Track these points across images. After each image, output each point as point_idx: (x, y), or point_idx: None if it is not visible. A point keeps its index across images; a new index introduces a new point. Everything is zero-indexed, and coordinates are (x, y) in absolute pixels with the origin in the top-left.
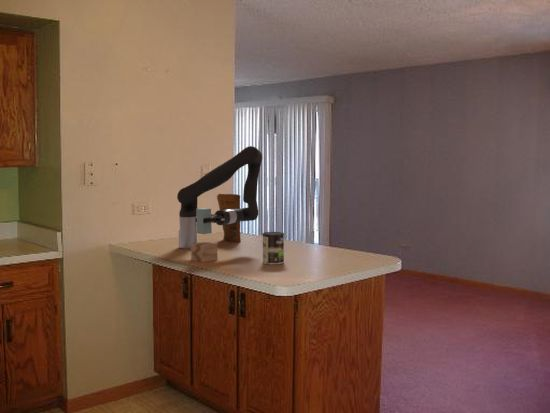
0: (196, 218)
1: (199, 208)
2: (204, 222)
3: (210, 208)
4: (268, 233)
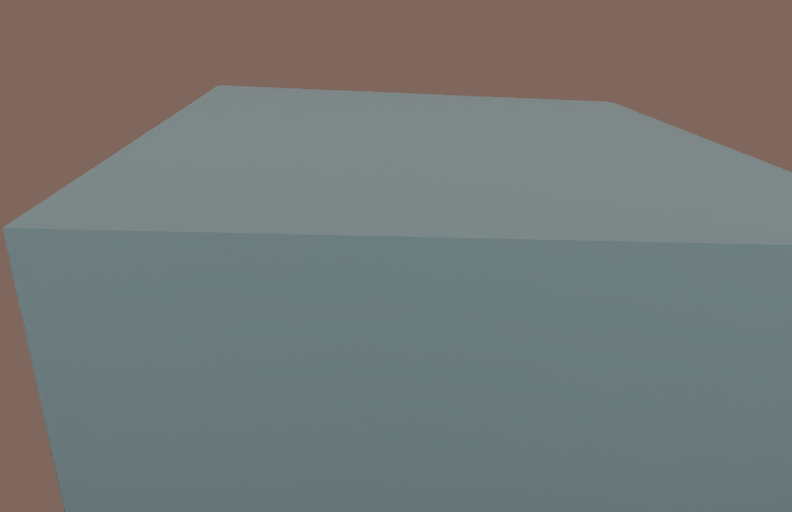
0: None
1: (667, 130)
2: None
3: (66, 221)
4: None
